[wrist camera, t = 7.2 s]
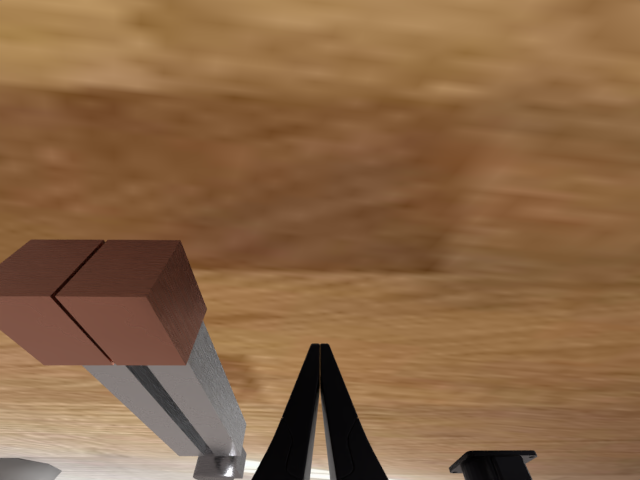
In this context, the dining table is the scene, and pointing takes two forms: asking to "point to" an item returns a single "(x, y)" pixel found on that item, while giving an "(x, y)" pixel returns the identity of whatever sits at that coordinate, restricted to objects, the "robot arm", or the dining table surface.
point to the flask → (26, 470)
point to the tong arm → (161, 337)
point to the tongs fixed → (83, 338)
